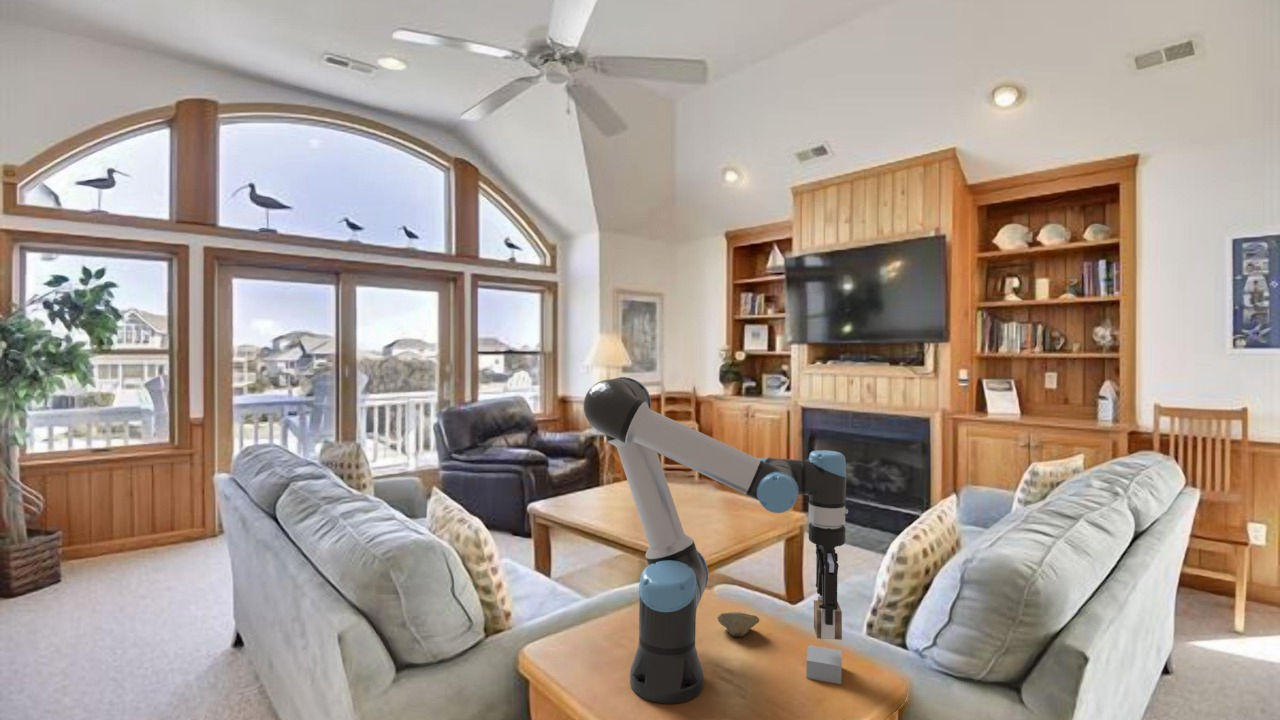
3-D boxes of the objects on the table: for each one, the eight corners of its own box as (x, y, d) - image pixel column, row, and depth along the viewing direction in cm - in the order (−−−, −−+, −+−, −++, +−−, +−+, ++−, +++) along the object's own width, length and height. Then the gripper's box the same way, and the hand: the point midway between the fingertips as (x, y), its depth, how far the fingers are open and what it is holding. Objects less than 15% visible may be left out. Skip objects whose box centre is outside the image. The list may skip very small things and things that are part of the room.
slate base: (806, 679, 126) (806, 660, 126) (807, 662, 133) (808, 644, 133) (841, 685, 124) (841, 666, 124) (841, 668, 131) (841, 650, 131)
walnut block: (817, 638, 126) (817, 610, 126) (813, 627, 131) (813, 600, 131) (841, 639, 125) (841, 611, 125) (837, 628, 130) (837, 601, 130)
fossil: (764, 614, 144) (725, 607, 142) (766, 633, 141) (726, 626, 139) (749, 625, 150) (711, 619, 148) (750, 644, 147) (712, 638, 145)
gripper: (853, 537, 118) (852, 654, 119) (837, 513, 136) (836, 614, 137) (814, 535, 120) (813, 651, 120) (803, 511, 137) (802, 612, 138)
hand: (825, 631), depth 128 cm, fingers closed on walnut block, 5 cm apart
